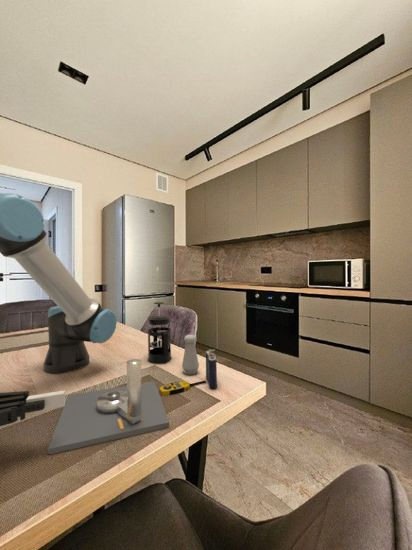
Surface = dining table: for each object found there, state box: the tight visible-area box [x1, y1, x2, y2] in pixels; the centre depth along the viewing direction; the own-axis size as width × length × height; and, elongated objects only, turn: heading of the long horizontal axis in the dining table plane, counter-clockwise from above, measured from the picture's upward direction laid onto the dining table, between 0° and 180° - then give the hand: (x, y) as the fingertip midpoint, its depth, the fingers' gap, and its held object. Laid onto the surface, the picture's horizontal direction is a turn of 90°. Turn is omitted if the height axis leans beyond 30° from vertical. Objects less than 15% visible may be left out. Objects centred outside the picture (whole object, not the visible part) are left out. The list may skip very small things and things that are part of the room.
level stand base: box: [47, 380, 170, 455], centre depth 63 cm, size 22×24×1 cm
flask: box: [205, 349, 218, 391], centre depth 78 cm, size 9×3×11 cm, turn 8°
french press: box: [147, 301, 173, 365], centre depth 98 cm, size 12×9×23 cm
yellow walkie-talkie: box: [158, 380, 207, 397], centre depth 75 cm, size 5×2×15 cm
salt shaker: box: [182, 334, 200, 376], centre depth 86 cm, size 6×6×13 cm
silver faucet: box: [97, 358, 143, 424], centre depth 61 cm, size 16×8×14 cm, turn 48°
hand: (64, 398), depth 51 cm, fingers closed
